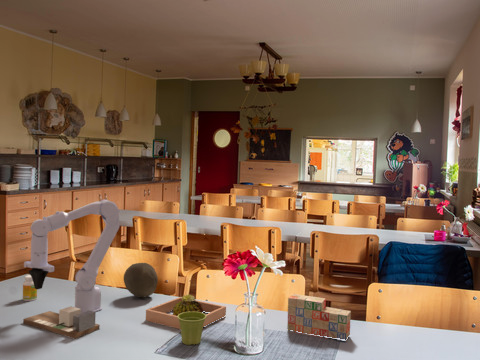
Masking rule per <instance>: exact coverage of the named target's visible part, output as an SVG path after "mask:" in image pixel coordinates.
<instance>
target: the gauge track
mask: <svg viewBox="0 0 480 360" xmlns="http://www.w3.org/2000/svg"><path fill="white" fill-rule="evenodd" d="M96 312H97V311H96ZM96 312H94V311H90V310H89V311H86V312H83V313H80V314H77V315H74V316H73V325H72V326H65V325H59V326H56V325H58V324H59V312H54V311H49V310H48V311H45V312H42V313H38V314H36V315H35V314H34V315H32V316H29V317H24V318H23V319H22V320H23V321H22V324H25V325H28V326H32V327H35V328H38V329H42V330H45V331H48V332H51V333H55V334H58V335H61V336H65V337H68V338H71V339H77V338H79V337H82V336H86V335H88V334H91V333H93V332H95V331H98V330H100V324H97V323H96Z"/></svg>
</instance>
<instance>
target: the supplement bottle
mask: <svg viewBox="0 0 480 360" xmlns="http://www.w3.org/2000/svg"><path fill="white" fill-rule="evenodd" d="M24 280H25V281H23V283H22V301H24V302H25V301H26V302H32V301H36V300H37V298H38V289H35V287H34V283H33V279H32V277H31V275H30V274H29V275H25V277H24Z"/></svg>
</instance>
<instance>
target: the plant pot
mask: <svg viewBox="0 0 480 360" xmlns="http://www.w3.org/2000/svg"><path fill="white" fill-rule="evenodd" d="M205 314H206V313H201V312H184V313H180V314H179V315H178V319H179V322H180V328H181V329H180V336H181V342H182V344H184V345H187V346H191V345H195V344H196V345H199V344H200V343H201V341H202V334H203V329H204V328H203V323H204V321H205V319H206V315H205Z"/></svg>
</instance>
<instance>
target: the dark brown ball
mask: <svg viewBox="0 0 480 360" xmlns="http://www.w3.org/2000/svg"><path fill="white" fill-rule="evenodd" d="M158 282H159V281H158V274H157V272H156V270H155V268H154V266H152V265H151V264H150V263H147V262H136V263H133V264H131V265H130V266H128V268H127V269H126V270H125V272H124V274H123V283H124V286H125V288H126V289H127V291H128V292H129V293H130V294H132V295H133V296H135V297H138V298H148V297H150V296H151V295H153V294H154V293H155V291H156V289H157V286H158Z"/></svg>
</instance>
